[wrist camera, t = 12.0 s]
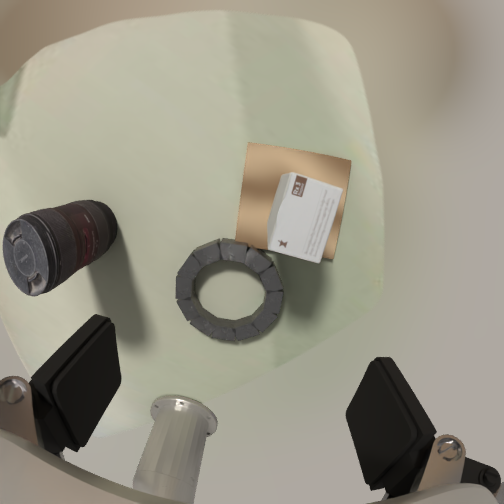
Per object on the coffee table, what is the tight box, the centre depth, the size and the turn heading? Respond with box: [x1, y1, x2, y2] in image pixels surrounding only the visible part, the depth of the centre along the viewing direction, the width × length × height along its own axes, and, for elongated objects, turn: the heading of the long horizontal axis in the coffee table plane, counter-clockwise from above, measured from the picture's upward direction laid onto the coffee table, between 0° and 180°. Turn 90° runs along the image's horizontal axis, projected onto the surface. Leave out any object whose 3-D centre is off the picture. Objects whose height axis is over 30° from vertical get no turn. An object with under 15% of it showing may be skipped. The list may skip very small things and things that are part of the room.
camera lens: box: [3, 200, 117, 296], centre depth 26 cm, size 8×8×15 cm
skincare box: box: [267, 172, 343, 263], centre depth 25 cm, size 6×4×12 cm
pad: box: [235, 142, 351, 259], centre depth 31 cm, size 12×12×1 cm
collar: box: [176, 238, 283, 341], centre depth 34 cm, size 13×13×2 cm
